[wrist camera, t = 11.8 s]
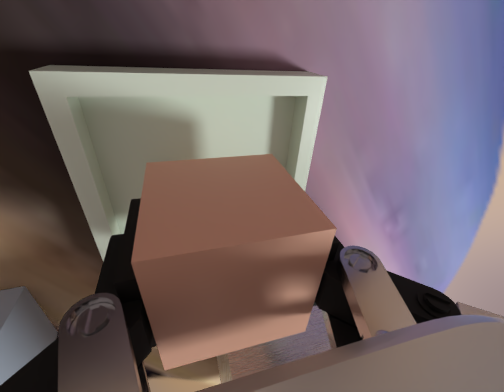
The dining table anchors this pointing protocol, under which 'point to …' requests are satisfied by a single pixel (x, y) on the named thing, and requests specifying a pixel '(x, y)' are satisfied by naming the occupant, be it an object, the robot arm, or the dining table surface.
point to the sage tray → (170, 125)
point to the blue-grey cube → (21, 330)
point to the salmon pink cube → (226, 255)
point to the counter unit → (276, 351)
